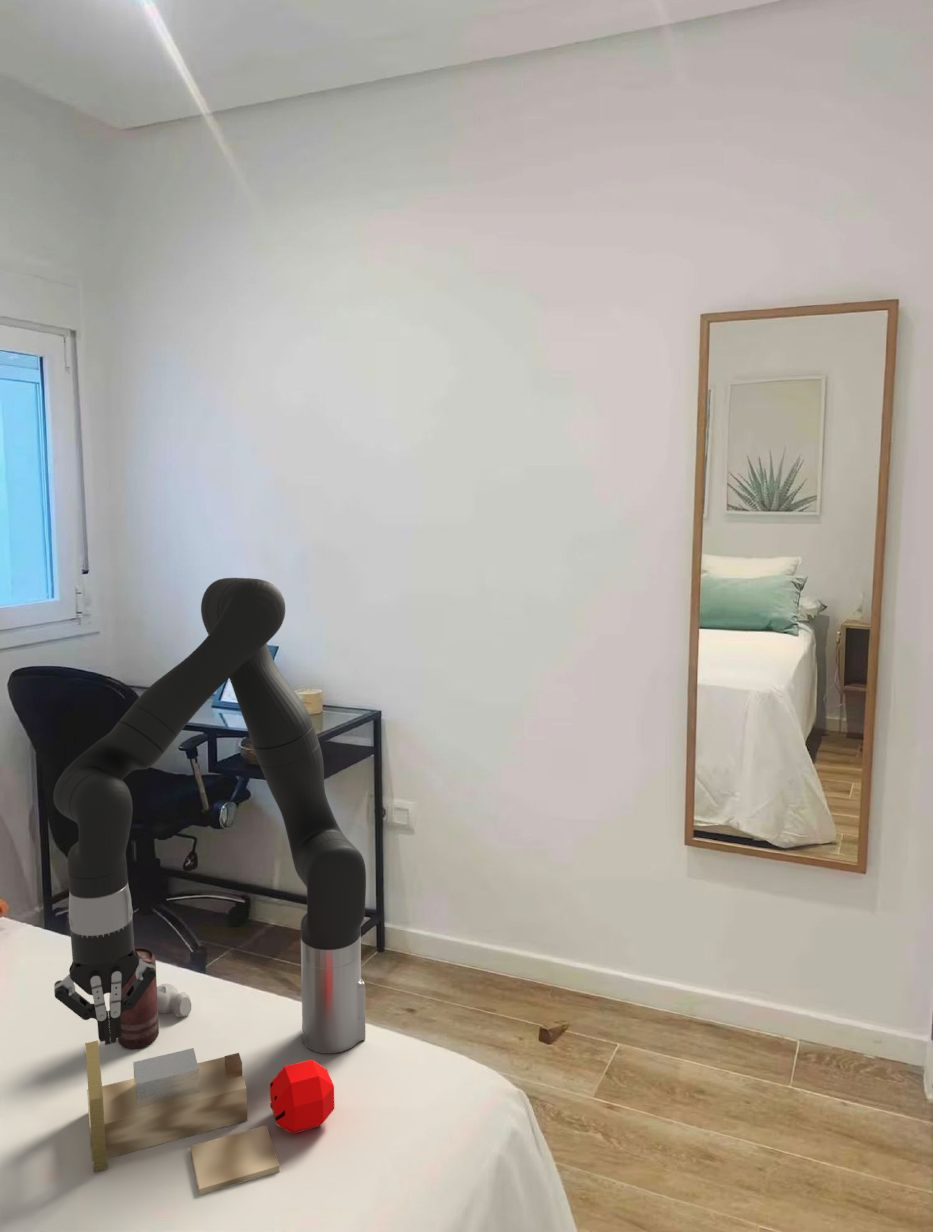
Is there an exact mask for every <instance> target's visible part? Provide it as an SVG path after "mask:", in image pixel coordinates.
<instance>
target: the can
mask: <svg viewBox="0 0 933 1232" xmlns="http://www.w3.org/2000/svg"><path fill="white" fill-rule="evenodd" d="M134 949H135V951H136V952H137V953H138V956H139V960H141V961H143V962H145V963H147V962H149V961H151V962H153V963H154V966H155V970H156V971H157V967H156V966H157V963H156V962H157V960H156V958H155V955H154V954H153V951H151V950H150V949H148V948H145V947H136V948H135V947H134ZM136 971H137V969H136V970H135V972H134V973H133V975H132V976H131V978H130V979H129V981H128V983H127V984H126V985H125V987H124V988H122V989H121V998H122V997H123V996H124V994H125V993H126V991H127V990H128V988H129V987H130V986H131V984H132V983H133V981H134V980H135V978H136ZM157 984H158V983H157V975H156V976H155V978H154V979H153V980H152V982H151V983H150V985H149V986H148V988H147V989H146V991H145V992H144V993H143V995H142V996H141V998H140V999H139V1001H138V1002H137V1004H136V1005H135V1006H134V1008H133V1009H131V1010H126V1011H124V1012H123V1013H122V1014H121V1030H122V1034H121V1037H119V1038H117V1042H118V1044H119V1045H120V1046H121V1047H122V1048H124V1049H126V1050H133V1051H134V1050H139V1049H140V1050H141V1049H144V1048H146V1047H149V1046H150V1045H152V1044H153V1043H154V1042H155V1041H156V1040H157V1038H158V1036H159V1033H160V1026H159V1024H160V1023H159V1013H158V1002H157V987H158V986H157Z"/></svg>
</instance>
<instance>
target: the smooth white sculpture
mask: <svg viewBox="0 0 933 1232" xmlns="http://www.w3.org/2000/svg"><path fill="white" fill-rule="evenodd" d="M157 1002H158V1014H163V1013H164V1014H169V1013H172V1012H174V1013H175V1015H176V1016H177V1017H178V1018H185V1017H186V1016H188V1015H190V1014H191V1011H192V1002H191V998H190V995H188V994H187V992H184V991H183V992H182V991H181V992H179V991H178V989H177V988H176V987H175V985H173V984H171V983H162V984H160V985H158V986H157Z"/></svg>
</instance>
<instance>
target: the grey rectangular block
mask: <svg viewBox="0 0 933 1232" xmlns="http://www.w3.org/2000/svg"><path fill="white" fill-rule="evenodd" d="M197 1063H198V1060H197V1056H196V1053H195V1049H194V1047H193V1048H188V1049H183V1050H179V1051H175V1052H171V1053H170V1052H169V1053H167V1054H162V1055H158V1056H154V1057H150V1058H145V1059H141V1060H137V1061H133V1079H134V1085H135V1092H136V1099H137V1106H138V1108H140V1107H144V1106H148V1105H152V1104H156V1103H160V1102H164V1101H168V1100H172V1099H176V1098H180V1097H184V1096H188V1095H192V1094H196V1093H200V1086H199V1068H198V1064H197Z"/></svg>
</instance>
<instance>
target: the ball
mask: <svg viewBox="0 0 933 1232" xmlns="http://www.w3.org/2000/svg"><path fill="white" fill-rule="evenodd" d="M334 1085H335V1084H334V1082H333V1081H332V1078H331V1076H330V1073H329V1071H328V1069H327V1068H325V1067H324V1066H322V1065H321V1064H319V1063H318V1062H316V1061H315V1060H314V1059H309V1060H304V1061H300V1062H297V1063H292V1064H288V1065H284V1066H283V1067H282V1068H281V1069H280V1071H279V1072H278V1073H277V1075H275V1077H274V1078H273V1079H272V1080H271V1082H270V1083H269V1099H270V1100H269V1101H270V1104H269V1105H270V1109H271V1111H272V1114H273V1116H274V1119H275V1124H276V1125H277V1126H279V1127H280V1128H282V1129H283V1130H285V1131H286V1132H287V1133H290V1134H291V1135H293V1134H296V1133H297V1134H298V1133H300V1132H304V1131H308V1130H312V1129H315V1128H318V1127H321V1126H322V1125H323V1124H324V1122H325V1121H326V1120H327V1119H328V1117H329V1116H330V1115H331V1114H332V1112H333V1111H334V1110H335V1086H334Z"/></svg>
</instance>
